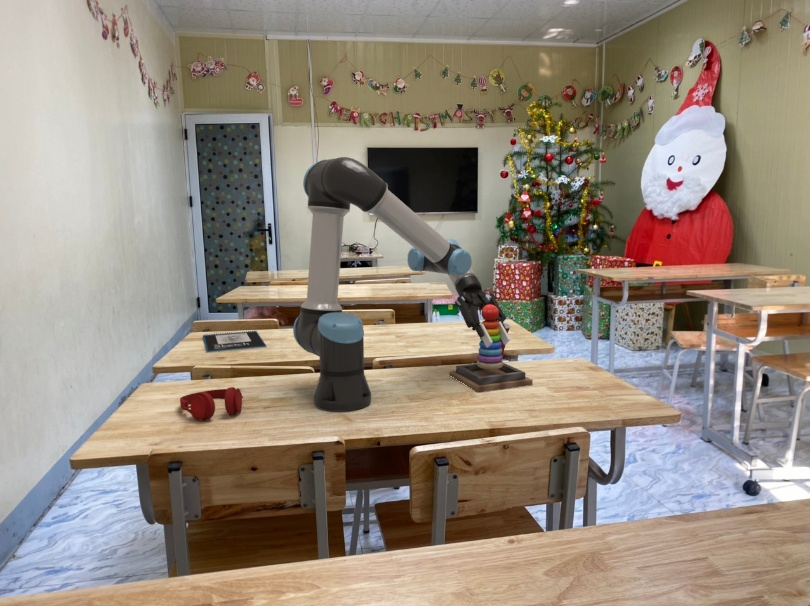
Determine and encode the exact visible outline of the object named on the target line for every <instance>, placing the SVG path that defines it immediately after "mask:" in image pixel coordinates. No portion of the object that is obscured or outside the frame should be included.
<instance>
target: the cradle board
mask: <svg viewBox="0 0 810 606" xmlns="http://www.w3.org/2000/svg"><path fill="white" fill-rule="evenodd" d="M503 363H504V365H503V367H501V368H499V369H493V370H489V369H482V368H480V367H478V366H477V362H476V363H469V364H467V363H466V364H460V365H455V370H451V371H448V374H449V375H450V376H452V377H454V378H455V379H457V380H458V381H460V382H462V383H464V384H465V385H467V386H468V387H467V386H466V387H467V388H469V387H470V388H469V389H471V388H472V389H471V390H473V391H474V390H475V391H474V392H475V393H484V391H486V392H492V391H491V390H493V391H498V389H500V390H506V389H505V388H507V389H512V387H514V388H520V387H519V386H521V387H526V385H528V386H533V383H534V382H533V379H531V378H529V377H527V376H526V372H525V371H523V370H521V369H518V368H516V367H514V366H511V365H509V364H507V363H505V362H503ZM450 376H449V377H450ZM455 379H454V380H455ZM457 380H456V381H457ZM458 381H457V382H458ZM460 382H459V383H460ZM462 383H461V384H462ZM464 384H463V385H464ZM465 385H464V386H465Z"/></svg>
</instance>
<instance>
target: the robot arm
mask: <svg viewBox="0 0 810 606" xmlns="http://www.w3.org/2000/svg"><path fill="white" fill-rule="evenodd" d="M302 186H303V190H304V193H305V194H306V196H307V209H308V210H309V211H310V213H311V214H312V219H311V236H310V246H309V247H310V249H309V261H308V277H307V278H308V280H307V290H306V291H307V293H306V299H305V301H304V302H303V303H302V304H301V305H300V312H299V315H298V317H296V319H295V320H294V322H293V328H292V330H293V331H292V332H293V333H292V334H293V337H294V339H295V341H296V343H297V344H298V346H300V347H301V348H302V349H303V351H305V352H308V353H310V354H313V355H315V356H317V357H319V378H318V381H317V385H316V389H315V392H314V396H313V397H314V406H315V407H316V408H318V409H320V410H322V411H327V412H328V411H329V412H350V411H357V410H360V409H363V408H365V407H368V406H369V405H371V403H372V391H371V389H370V386H369V383H368V380H367V377H366V375H365V353H364V352H365V351H364V350H365V349H364V348H365V346H364V345H365V344H364V340H365V339H364V335H365V331H364V324H363V323H364V322H363V321H362V318H360V317H359V316H357V315H356V314H353V313H348V312H347V313H346V312H343V307H342V306H341V305H340V304H339V303H338V297H339V285H340V284H339V283H340V272H341V271H340V269H341V260H342V259H341V256H342V243H343V234H344V233H343V231H344V219H345V216H346V215H347V214H348V213H350V211H351V205H353V206H355V207H357V208H359V210H361V211H362V212H363V213H371V214H372V215H373V216H374V217H376V218H377V219H378V220H379V221H381V222H382V223H383V224H384V225H385V226H386V227H388V228H389V229H391V231H393V232H394V233H396V234H397V235H398V236H399V237H400V238H402V239H403V240H404V241H406V242H407V243H408V244H409V245H410V246H411V248H410V249H409V251H408V254H407V265H408V267H409V269H410V270H411V271H412V272H419V273H420V272H421V273H422V272H430V273H439V274H444V275H445V274H446V275H448V277H449V279H450V281H451V282H452V283H451V284H452V285H453V286H454V288H455V290H456V292H457V295H458V297H457V298H456V300H455V301H454V304H455V305H456V306H457V308H458V309H459V312H460V313H461V316H462V318H463V320H464V322H465V325H466V327H467V328H468V329H472V331H475V332H476V333H477V335H478V337H479V338H480V337H481V338H482V340H483V342H484V344H485V346H486V348H487V347H489V346H490V345H491V344H492V340H491V338H490V336H489V334H488V332H487V330H486V328H485V327H484V325H483V324H481V325H480V322H481V321H480V317H479V311H478V308H479V309H480V310H481V311H482V309H483V307H484V306H486V305H494V306H496V307H497V308H498V311H499V315H498V318H497V319H496V321H498V323H499V326H498V327H497V328H498V329H499V333H498V334H499V335H500V338H501V340H502V342H503V344H504V345H505V346H506V345H508V343H509V342H510V341H511V337H510V336H509V333H508V334H507V332H506V331H507V329H506V327H505V326H504V324H503V323H505V320H506V319H507V316H506V315H505V313H504V312H503V310H502V308H501V306H500V305H499V303H498V302H497V300H496V298H495V295H494V293H492V292H491V293H490V294H486V292H485V291H483V288H482V283H481V282H480V280H479V278H478V277H477V275H476V273H475V271H474V269H473V267H472V263H473V260H472V256H471V253H469V252H468V251H467V250H465V249H463V248H462V247H461V246H460V245H459V243H458V241H457V240H456V239H454V238H447V239H446V238H445V237H443V236H442V235H441V234H440V233H439V232H437V231H436V229H434V228H433V227H432V226H430V224H428V223H427V222H426V221H425V220H424V219H423V218H422V217H420V216H419V215H418V214H417V213H415V211H413V210H412V209H411V208H410V207H409V206H408V205H406V204H405V203H404V202H403V201H402V200H400V198H398V196H396V195H395V194H394V193H392V191H390V190H389V189H388V187H389V186H388V183H387V182H385V180H383V179H382V177H379V175H378V174H376V173H375V172H374V171H373V170H372V169H371V168H369V167H368V166H366V165H365V164H364V163H362V162H360V161H359V160H357V159H354V158H351V157H348V156H342V157H337V158H330V159H322V160H319V161H317V162H315V163H313V164H312V165H310V166H309V167H308V168H307V170H306V172H305V173H304V176H303V183H302Z"/></svg>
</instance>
